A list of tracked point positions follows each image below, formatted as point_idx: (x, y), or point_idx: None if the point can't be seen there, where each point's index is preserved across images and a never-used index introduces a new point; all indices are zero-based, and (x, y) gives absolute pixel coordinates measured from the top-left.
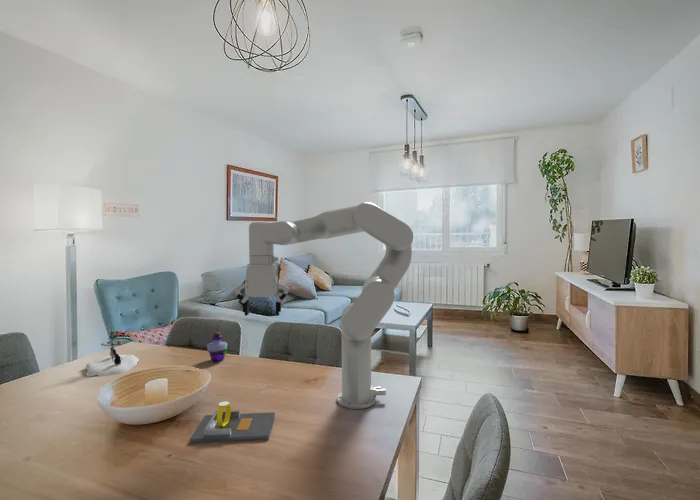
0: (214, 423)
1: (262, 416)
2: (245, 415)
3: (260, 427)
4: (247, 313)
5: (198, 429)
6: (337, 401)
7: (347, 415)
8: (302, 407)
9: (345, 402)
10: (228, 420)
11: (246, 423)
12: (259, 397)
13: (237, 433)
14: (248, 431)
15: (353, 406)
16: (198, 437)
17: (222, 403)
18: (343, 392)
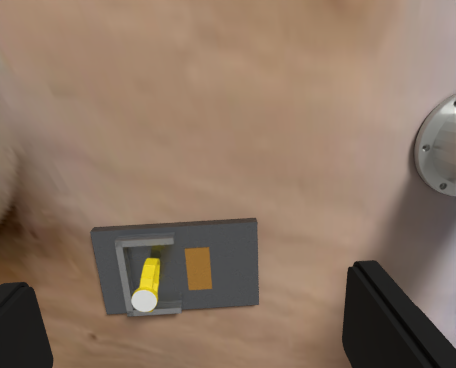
0: (130, 265)
1: (231, 240)
2: (189, 234)
3: (236, 280)
4: (43, 363)
5: (106, 286)
6: (414, 155)
7: (424, 217)
8: (319, 177)
9: (436, 177)
10: (159, 263)
11: (202, 267)
12: (192, 114)
13: (194, 299)
14: (215, 293)
15: (450, 195)
16: (121, 310)
17: (140, 301)
18: (448, 169)
